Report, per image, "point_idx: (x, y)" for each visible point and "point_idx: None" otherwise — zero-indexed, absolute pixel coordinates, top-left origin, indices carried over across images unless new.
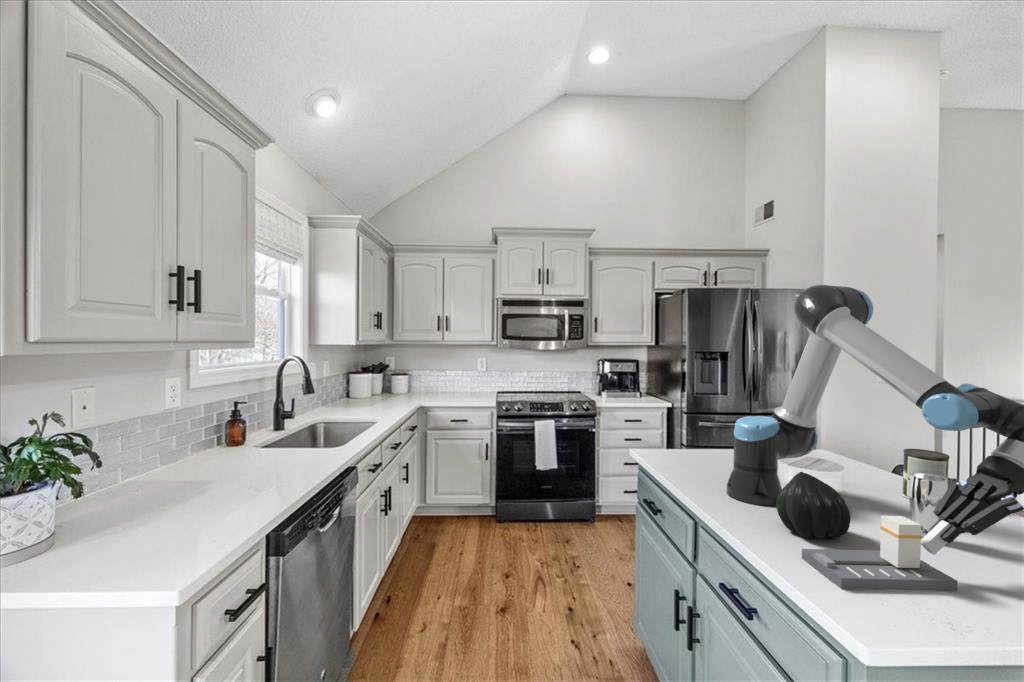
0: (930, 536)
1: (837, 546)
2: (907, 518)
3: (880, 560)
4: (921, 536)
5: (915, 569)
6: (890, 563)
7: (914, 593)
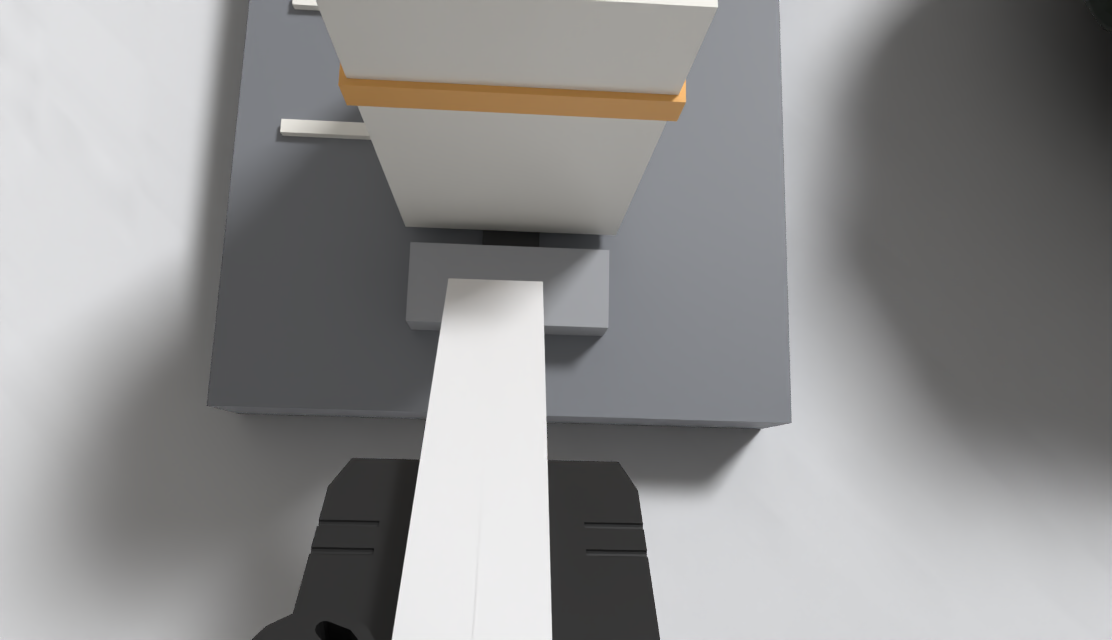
0: (481, 365)
1: (983, 49)
2: (610, 2)
3: None
4: (340, 83)
5: None
6: None
7: (232, 46)
